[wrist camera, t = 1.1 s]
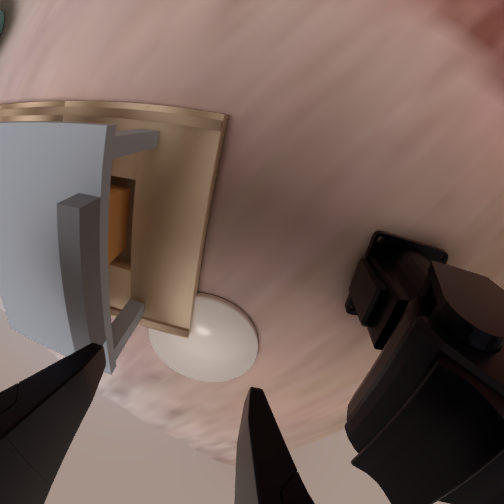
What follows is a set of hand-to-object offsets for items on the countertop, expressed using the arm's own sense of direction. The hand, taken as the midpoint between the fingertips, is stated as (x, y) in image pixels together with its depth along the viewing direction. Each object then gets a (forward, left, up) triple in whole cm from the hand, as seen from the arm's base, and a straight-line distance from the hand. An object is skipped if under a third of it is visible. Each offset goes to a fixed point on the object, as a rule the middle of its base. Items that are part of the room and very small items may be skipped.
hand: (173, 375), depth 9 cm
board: (+15, 0, -12) cm, 19 cm away
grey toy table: (+10, 0, -10) cm, 14 cm away
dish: (+1, +9, -12) cm, 15 cm away
